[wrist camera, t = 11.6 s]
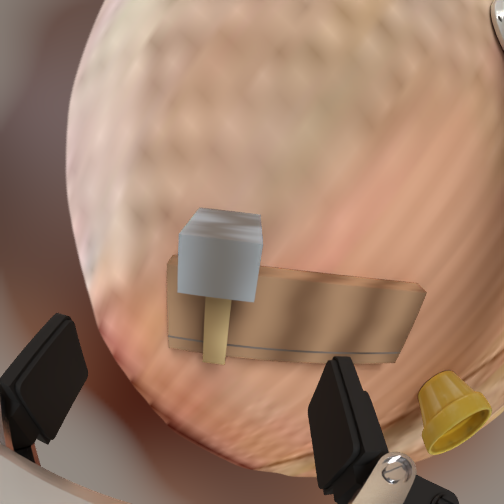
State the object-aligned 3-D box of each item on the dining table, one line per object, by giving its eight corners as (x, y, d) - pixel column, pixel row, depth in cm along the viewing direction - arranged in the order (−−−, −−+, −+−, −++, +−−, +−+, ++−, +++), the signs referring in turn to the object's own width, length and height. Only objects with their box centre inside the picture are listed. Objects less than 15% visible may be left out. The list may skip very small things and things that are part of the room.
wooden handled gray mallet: (260, 214, 23) (262, 244, 17) (242, 341, 28) (239, 392, 22) (199, 207, 23) (178, 233, 17) (193, 334, 28) (179, 384, 21)
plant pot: (402, 417, 35) (421, 464, 26) (409, 377, 31) (437, 431, 22) (455, 393, 34) (479, 434, 24) (469, 350, 30) (502, 395, 21)
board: (417, 283, 26) (426, 292, 24) (388, 351, 29) (394, 363, 27) (173, 254, 25) (166, 264, 23) (173, 335, 28) (168, 347, 26)
